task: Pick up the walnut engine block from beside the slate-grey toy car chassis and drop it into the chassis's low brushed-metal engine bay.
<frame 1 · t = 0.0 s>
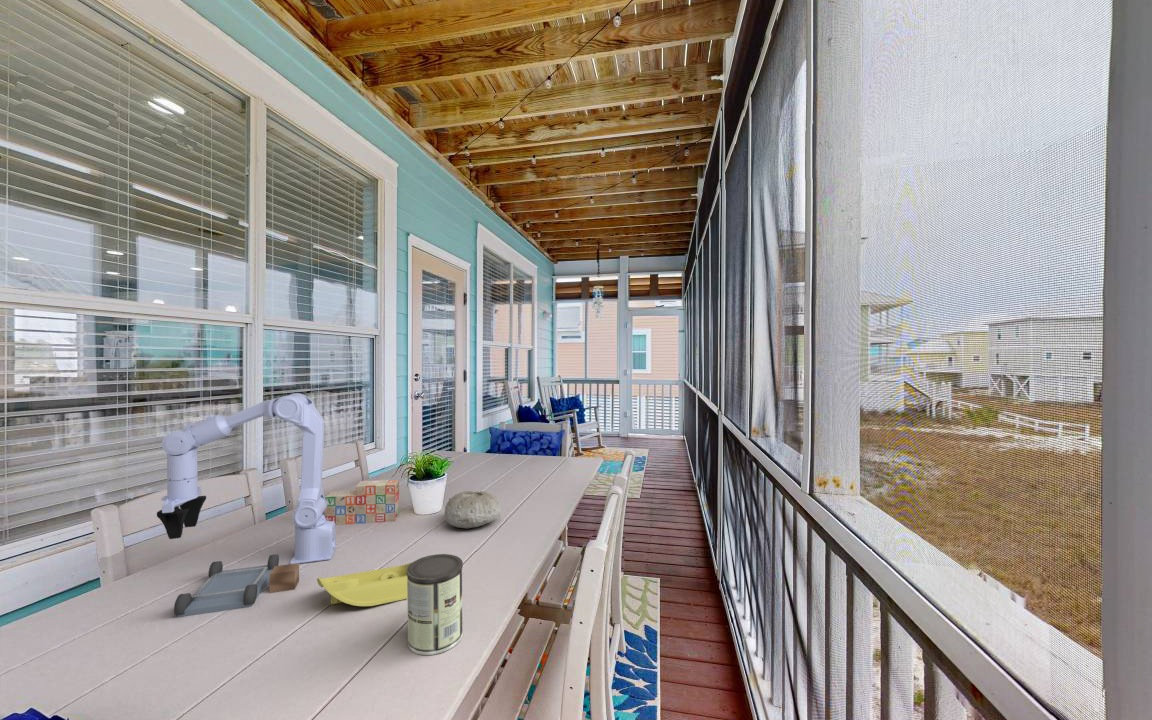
hand: (183, 532, 112), 10 cm above the table, tool pointing down, fingers open, 7 cm apart
chassis: (232, 590, 104), on the table
plastic component: (368, 596, 102), on the table
grey rounded lump: (473, 524, 145), on the table
engine block: (284, 587, 105), on the table
stack of blocks: (363, 521, 148), on the table
coffee can: (435, 639, 87), on the table
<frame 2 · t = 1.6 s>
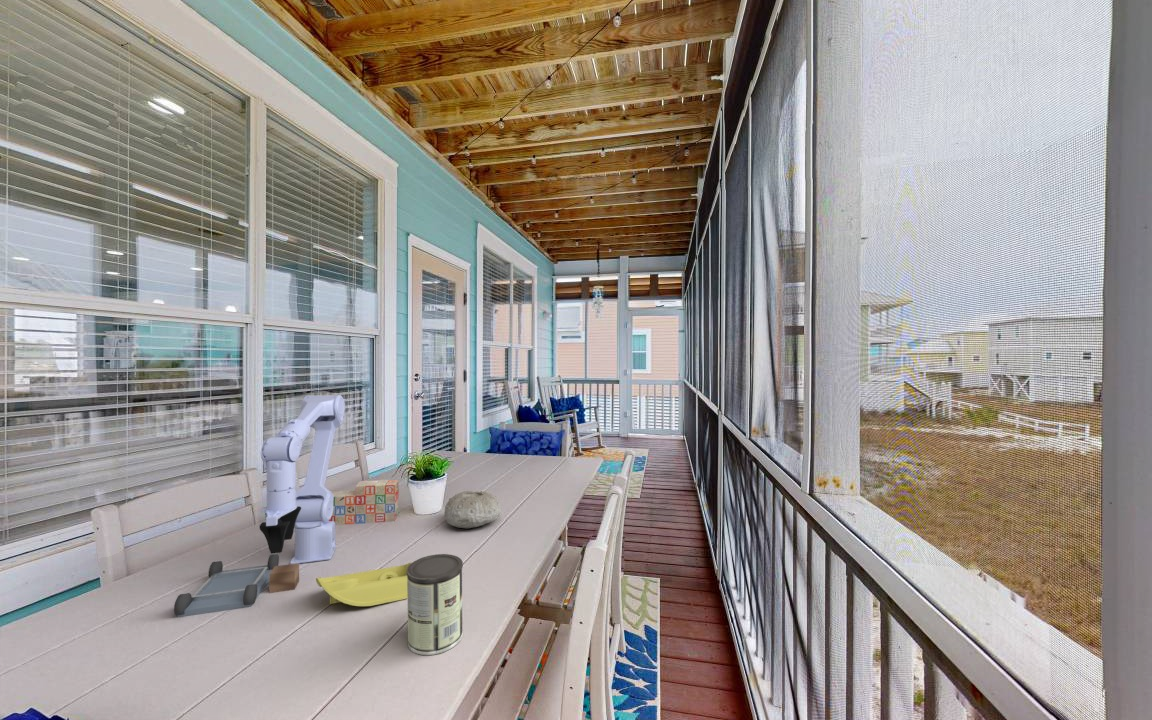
hand: (281, 545, 106), 9 cm above the table, tool pointing down, fingers open, 7 cm apart
nothing on the table moved.
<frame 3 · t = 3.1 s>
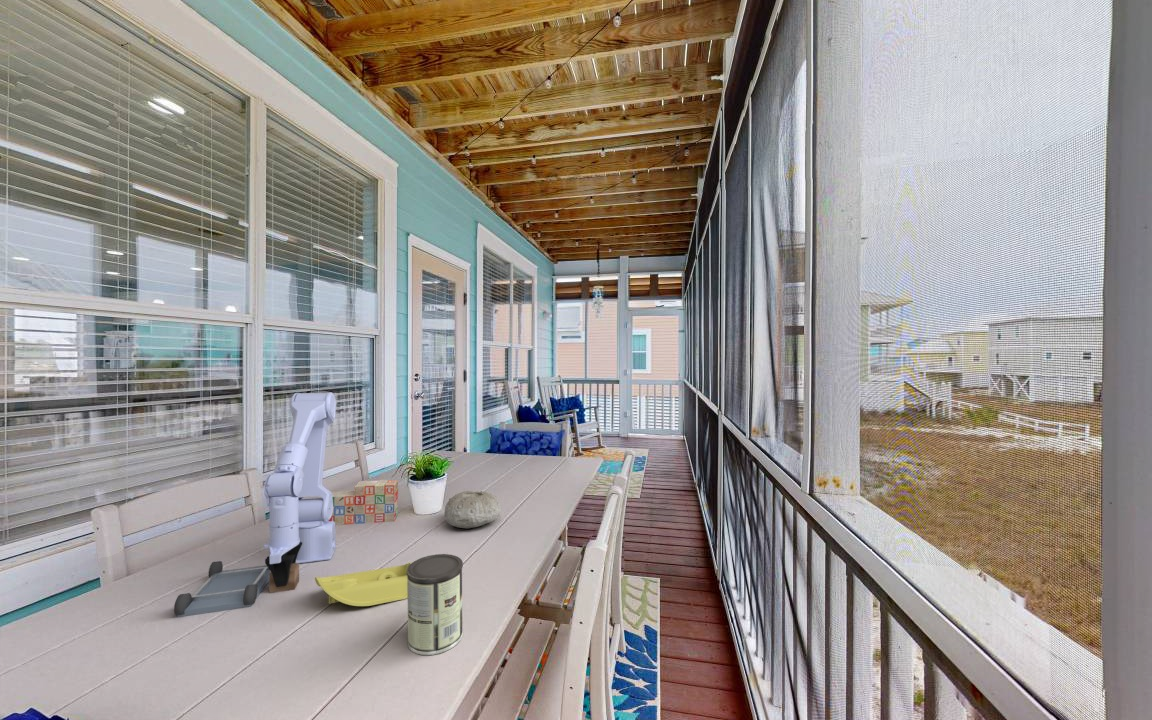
hand: (284, 580, 105), 1 cm above the table, tool pointing down, fingers closed on engine block, 4 cm apart
engine block: (284, 587, 105), on the table, touching gripper
everything else where it was.
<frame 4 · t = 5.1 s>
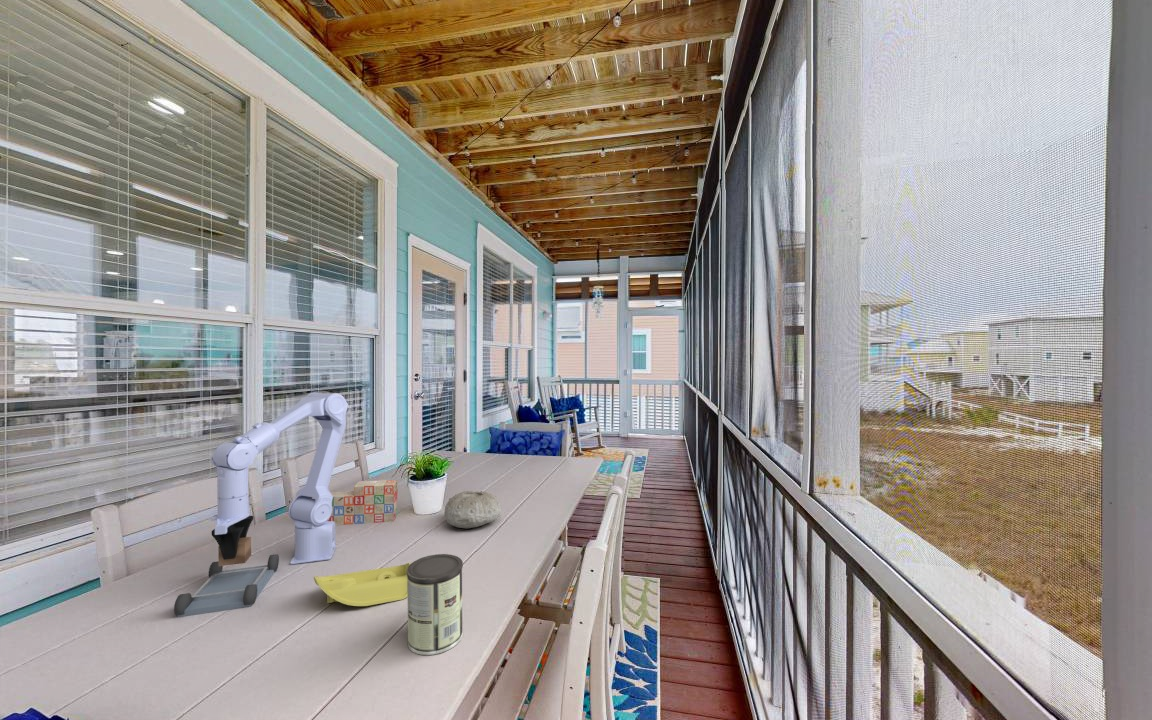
hand: (233, 554, 104), 8 cm above the table, tool pointing down, fingers closed on engine block, 4 cm apart
engine block: (235, 560, 104), point 7 cm above the table, touching gripper
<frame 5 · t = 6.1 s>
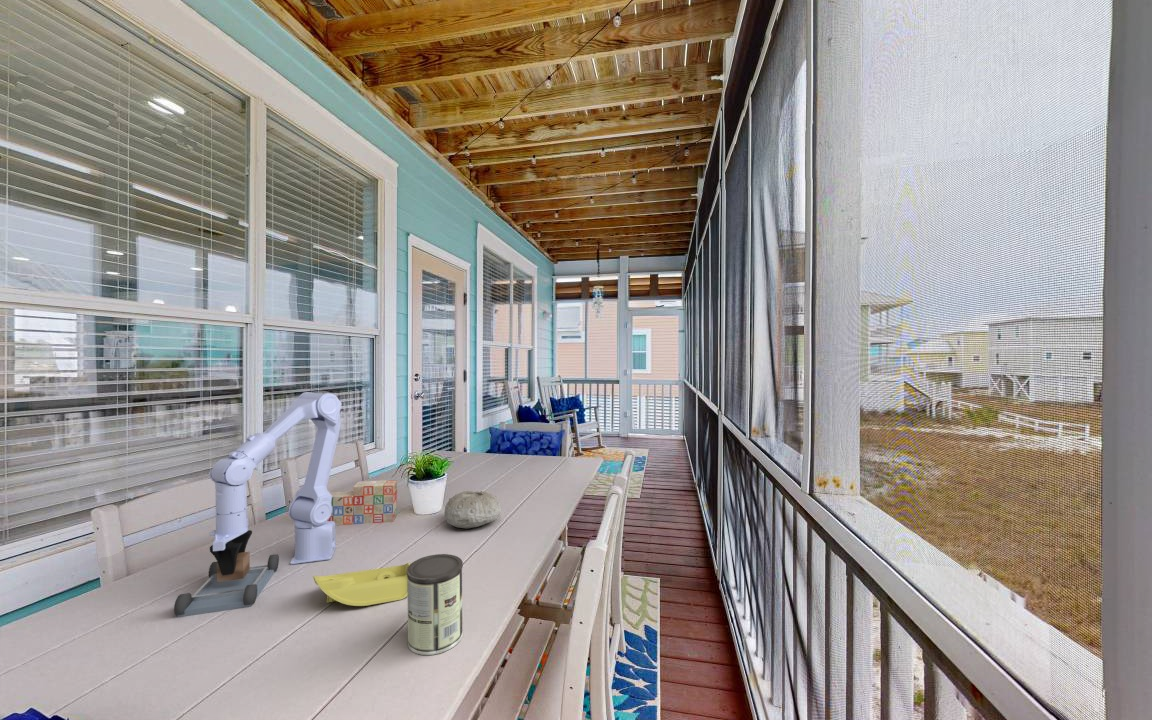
hand: (232, 569, 104), 5 cm above the table, tool pointing down, fingers closed on engine block, 4 cm apart
engine block: (233, 576, 104), point 3 cm above the table, touching gripper
when the fingers open (5 cm above the table, at t = 7.0 s): engine block drops 2 cm, resting on chassis.
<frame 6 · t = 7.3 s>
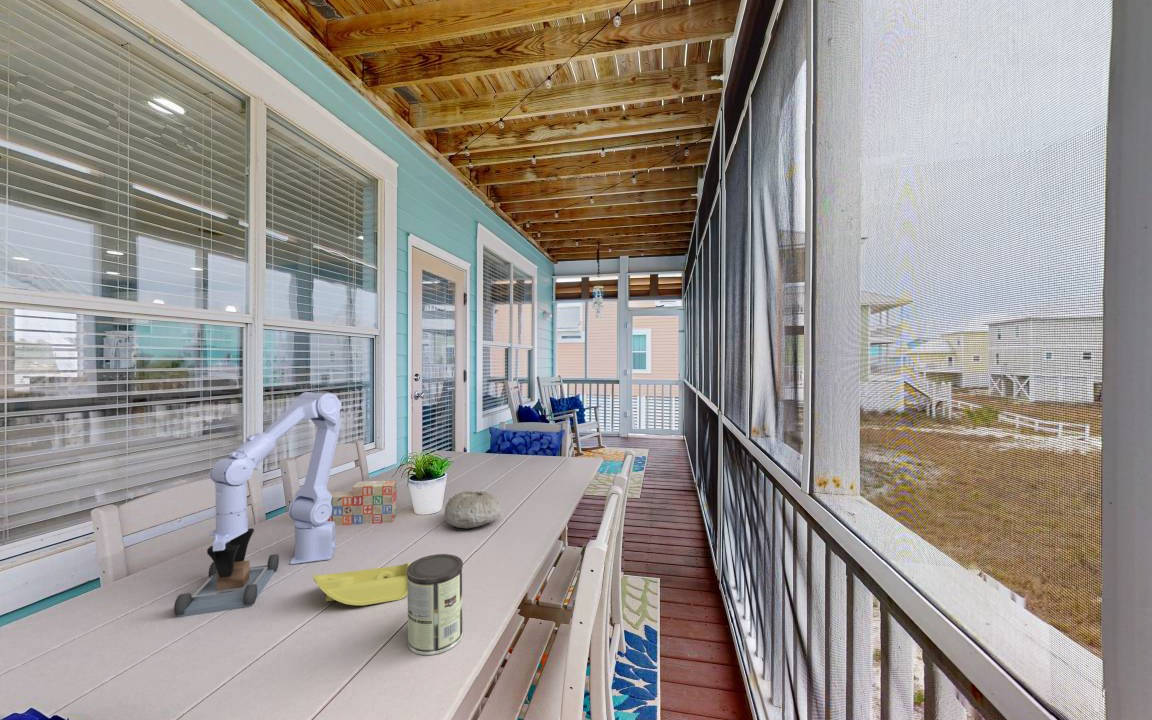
hand: (232, 569, 104), 5 cm above the table, tool pointing down, fingers open, 6 cm apart
engine block: (233, 584, 104), point 1 cm above the table, touching chassis
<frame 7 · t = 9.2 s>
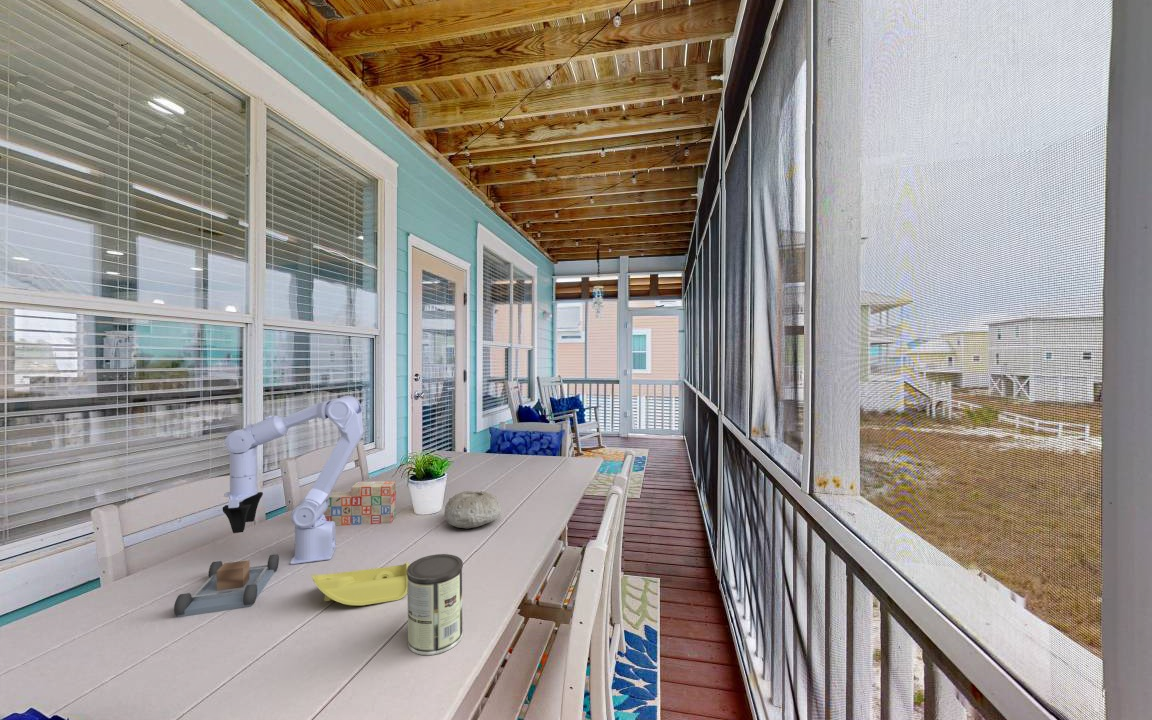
hand: (243, 526, 117), 9 cm above the table, tool pointing down, fingers open, 7 cm apart
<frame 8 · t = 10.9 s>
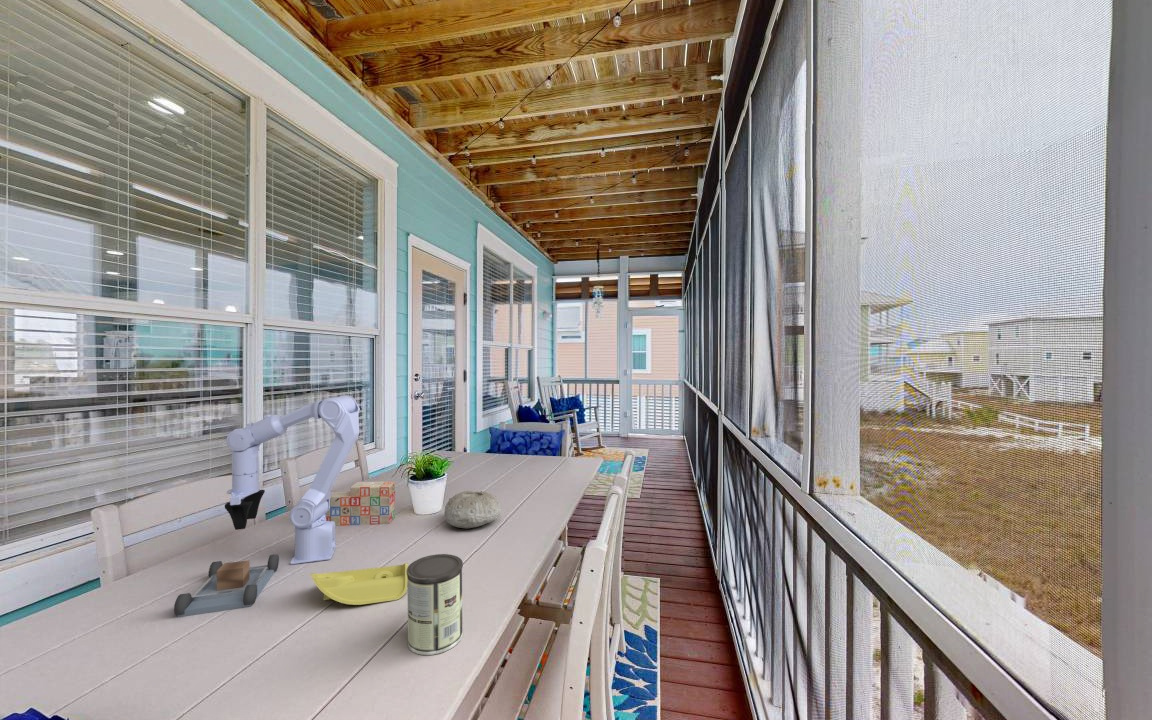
hand: (245, 523, 120), 9 cm above the table, tool pointing down, fingers open, 7 cm apart
at the end: engine block 0.2 cm off-centre on the chassis, point 1.2 cm above the chassis's base; engine block tilted 0°; the gripper is holding nothing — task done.
